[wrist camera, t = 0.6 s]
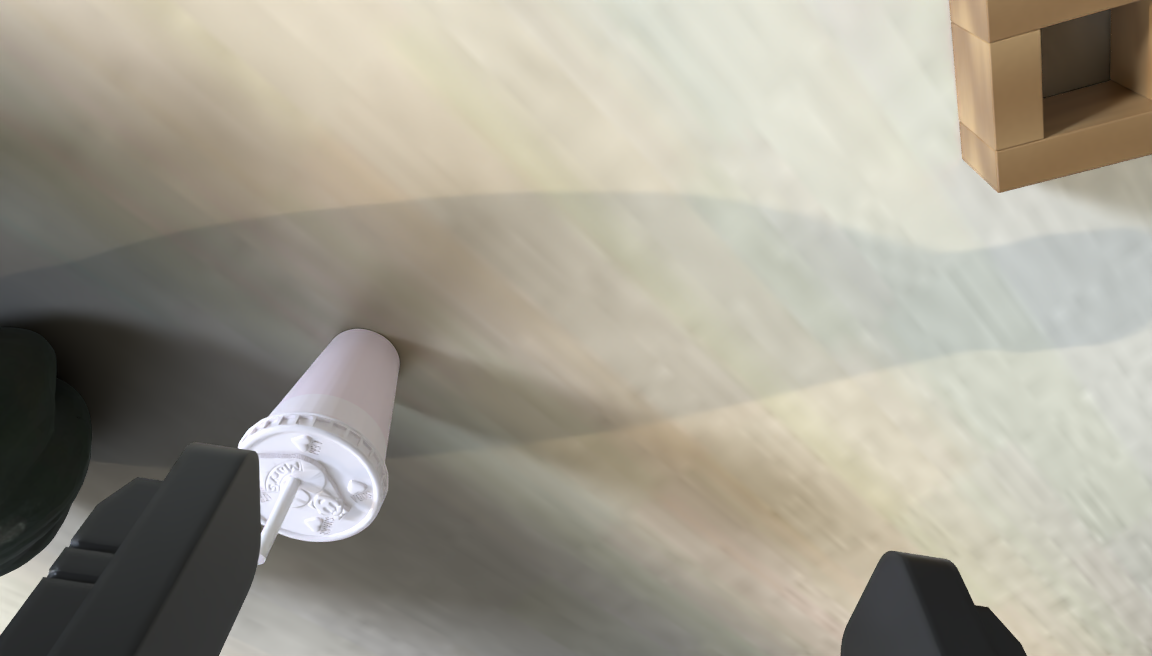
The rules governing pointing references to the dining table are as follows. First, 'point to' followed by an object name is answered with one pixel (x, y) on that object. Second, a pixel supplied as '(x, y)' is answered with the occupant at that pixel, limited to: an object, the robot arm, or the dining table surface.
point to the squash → (36, 446)
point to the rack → (1015, 96)
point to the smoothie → (328, 443)
